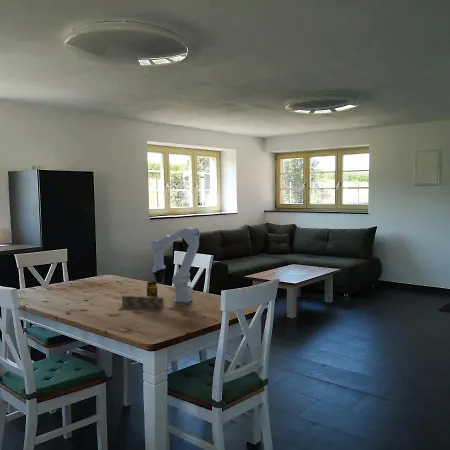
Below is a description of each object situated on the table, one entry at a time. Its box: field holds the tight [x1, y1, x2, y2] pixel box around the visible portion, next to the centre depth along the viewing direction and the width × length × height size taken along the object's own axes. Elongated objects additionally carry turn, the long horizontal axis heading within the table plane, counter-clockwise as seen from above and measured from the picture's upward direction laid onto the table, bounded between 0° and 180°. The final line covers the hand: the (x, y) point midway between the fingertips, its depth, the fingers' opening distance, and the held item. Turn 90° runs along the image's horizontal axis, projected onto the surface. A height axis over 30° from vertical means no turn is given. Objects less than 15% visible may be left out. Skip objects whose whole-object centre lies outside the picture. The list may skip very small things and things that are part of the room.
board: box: [121, 294, 164, 310], centre depth 245 cm, size 24×2×6 cm, turn 73°
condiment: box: [146, 280, 158, 297], centre depth 256 cm, size 7×8×12 cm
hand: (159, 282), depth 267 cm, fingers closed
